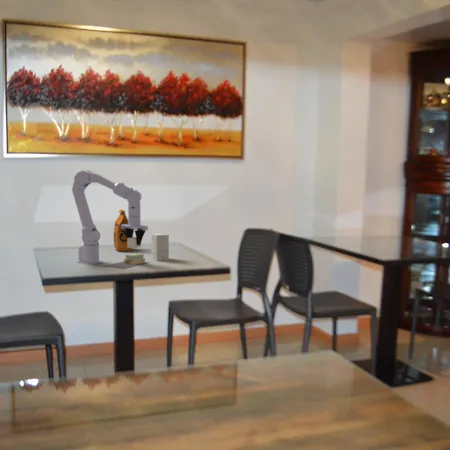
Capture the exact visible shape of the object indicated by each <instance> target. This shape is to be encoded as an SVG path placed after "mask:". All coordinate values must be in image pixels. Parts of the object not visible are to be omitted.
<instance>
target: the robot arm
mask: <svg viewBox="0 0 450 450" xmlns="http://www.w3.org/2000/svg"><path fill="white" fill-rule="evenodd" d="M73 179H74V180H73V184H72V188H71V191H72V194H73V198H74V202H75V206H76V209H77V212H78V215H79V220H80V223H81V240H82V242H83V243H81V244H80V245H79V246H78V261H77V263H80V264H81V263H82V264H90V265H93V264H98V263H102V262H104V261H103V260H100V243H99V241H100V239H101V232H100V231H99V230H98V229H97V226H96V225H95V224H94V221H93V218H92V213H91V210H90V208H89V203H88V200H87V197H86V194H85V190H86V189H87V187H88V186H89V185H91V184H93V183H94V184H95V183H97V184H100V185H101V186H104V187H107V188H108V189H110V190H112V192H113V194H114V195H116V196H118V197H120V198H123V199H124V200H126V201H127V202H128V203H127V204H128V206H127V212H128V213H127V215H128V216H127V219H128V225H127V224H123V225H121V229H125V230H123V231H124V233H125V235H126V237H127V238H131V237H134V234H135V237H136V242H137V245H142V241H143V240H142V239H144V235H145V234H146V231H148V230H149V225H148V226H147V225H141V200H142V194H141V192H140V191H138V189H134V188H133V187H131V188H130V187H129V186H127V185H125V183H123V182H117V183H115V182H113V181H112V180H110V179H108V178H106V177H104V176H103V175H101V174H99V173H97V172H94V171H92V170H79V171H78V172H77V173H76V174H75V176H73Z"/></svg>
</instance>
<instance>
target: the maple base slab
mask: <svg viewBox="0 0 450 450" xmlns="http://www.w3.org/2000/svg"><path fill="white" fill-rule="evenodd" d="M123 261H124V263H126V264H134V265H137V264H141V263H145V262H146V258H145V257H143V259H139V260H129V259H126V258H124V259H123Z"/></svg>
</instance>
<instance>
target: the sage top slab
mask: <svg viewBox="0 0 450 450" xmlns="http://www.w3.org/2000/svg"><path fill="white" fill-rule="evenodd" d="M143 258H144V254H143V253H134V252H133V253H132V252H131V253H128V254H125V259H129V260H139V259H143Z"/></svg>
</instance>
